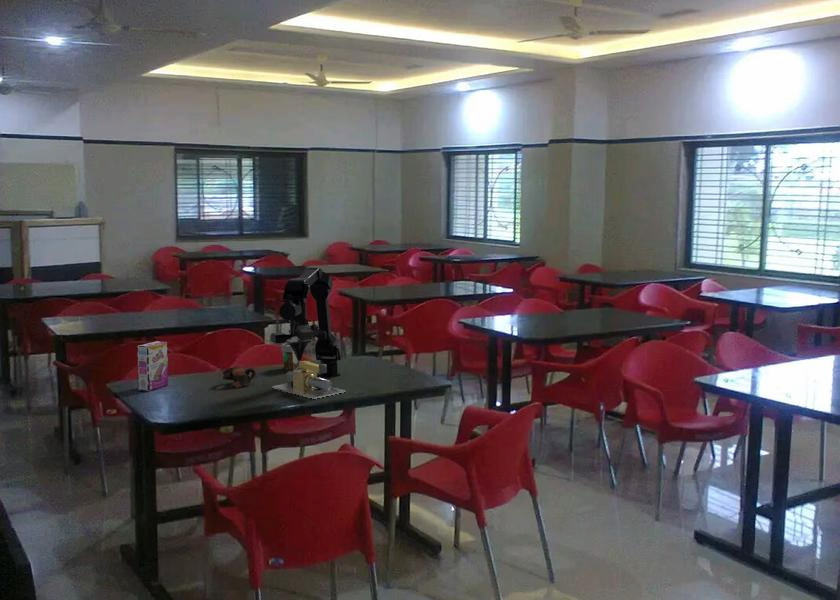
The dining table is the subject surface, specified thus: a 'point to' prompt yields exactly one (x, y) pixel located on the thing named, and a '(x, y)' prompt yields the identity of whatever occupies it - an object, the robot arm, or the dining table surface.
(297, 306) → the robot arm
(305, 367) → the lever
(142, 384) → the candy bar box
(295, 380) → the valve pipe
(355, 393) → the dining table surface
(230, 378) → the pottery mug
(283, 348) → the food container
